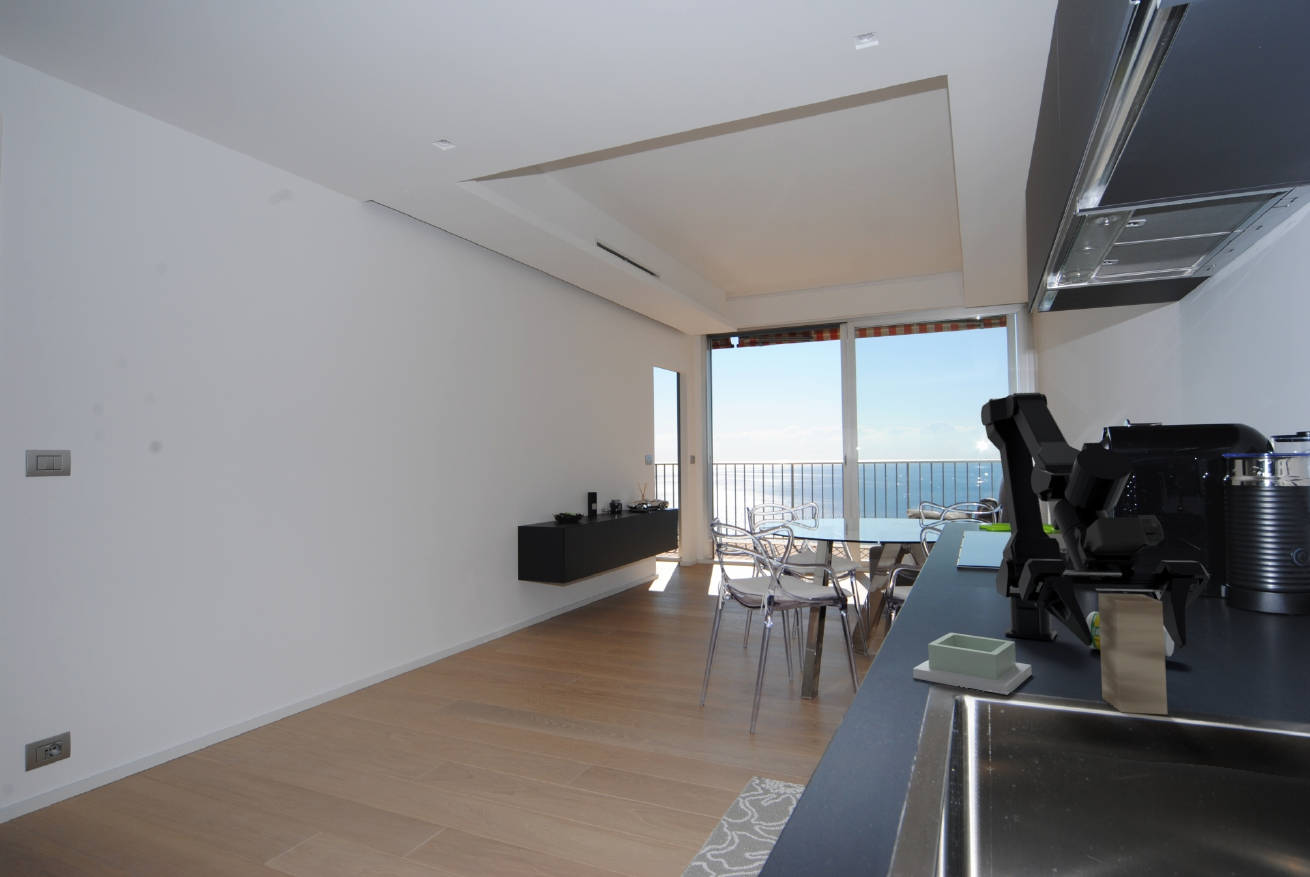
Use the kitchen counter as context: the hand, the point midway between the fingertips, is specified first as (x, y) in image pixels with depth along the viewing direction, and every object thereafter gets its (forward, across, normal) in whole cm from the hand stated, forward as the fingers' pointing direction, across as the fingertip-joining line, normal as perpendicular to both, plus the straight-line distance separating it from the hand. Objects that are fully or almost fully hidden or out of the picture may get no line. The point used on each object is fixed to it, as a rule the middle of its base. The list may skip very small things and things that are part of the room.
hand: (1136, 645), depth 76 cm
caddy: (-2, -15, +12) cm, 19 cm away
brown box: (+4, 0, +6) cm, 7 cm away
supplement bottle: (-16, +6, +22) cm, 28 cm away
